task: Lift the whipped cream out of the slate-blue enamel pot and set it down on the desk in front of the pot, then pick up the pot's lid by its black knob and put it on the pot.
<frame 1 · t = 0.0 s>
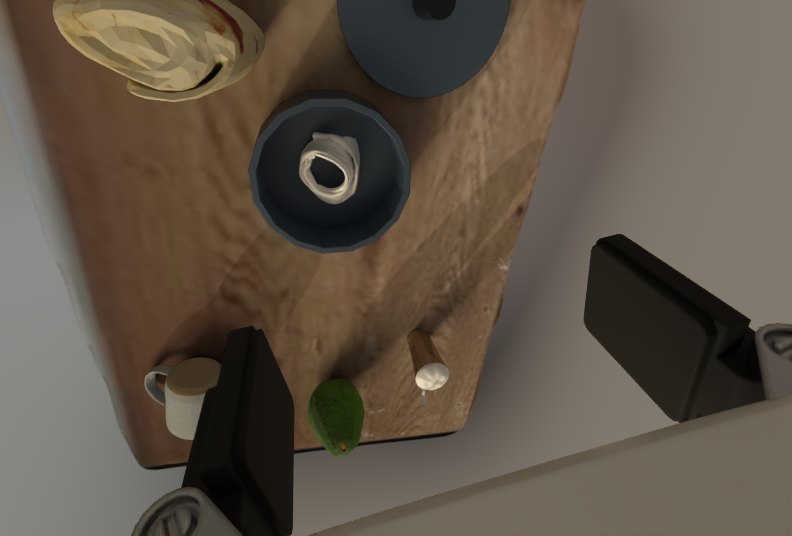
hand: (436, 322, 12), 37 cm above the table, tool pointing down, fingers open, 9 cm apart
ceramic mug: (192, 375, 57), on the table
milkshake: (416, 338, 62), on the table
pot: (329, 165, 46), on the table
food model: (212, 32, 38), on the table
pot lid: (425, 3, 39), point 1 cm above the table
whipped cream: (329, 166, 46), resting on pot
avocado: (333, 383, 63), on the table
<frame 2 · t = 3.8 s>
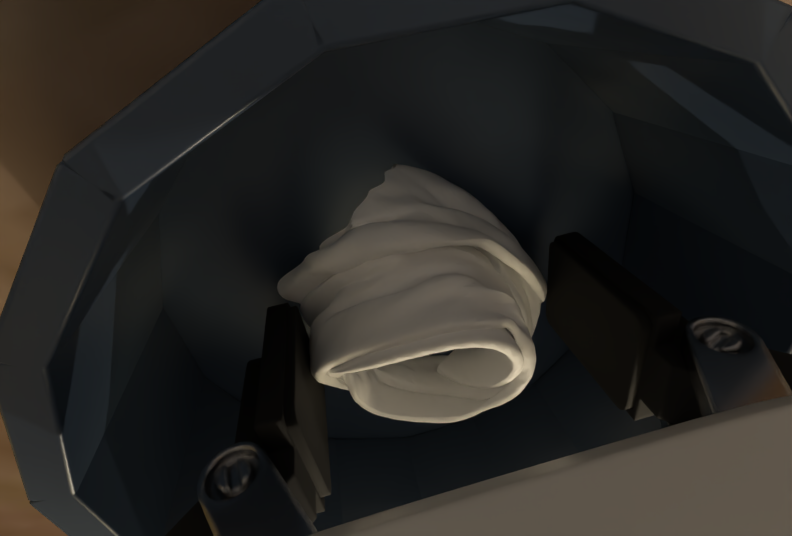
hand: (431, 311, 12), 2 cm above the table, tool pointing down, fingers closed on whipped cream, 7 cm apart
pot: (413, 278, 13), on the table
whipped cream: (414, 282, 13), resting on pot, touching gripper
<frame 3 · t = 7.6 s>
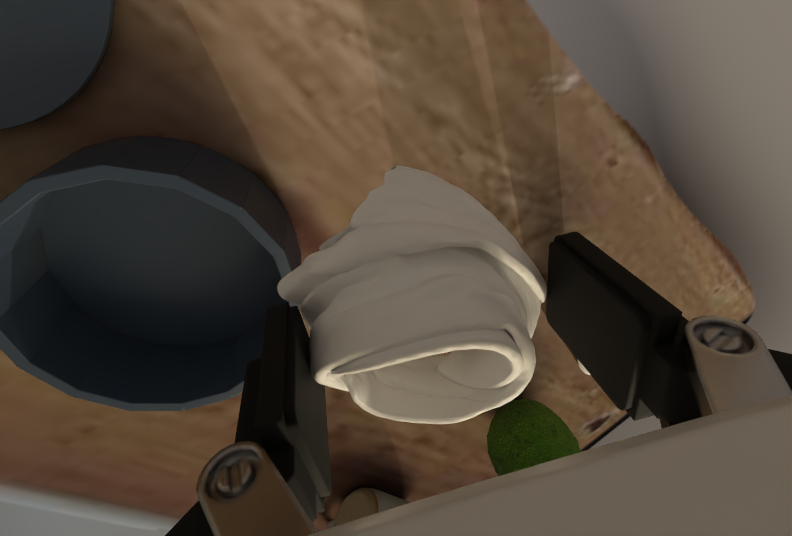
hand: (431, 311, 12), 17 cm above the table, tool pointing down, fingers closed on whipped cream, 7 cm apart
ceramic mug: (368, 504, 47), on the table
pot: (177, 257, 27), on the table
whipped cream: (414, 283, 13), point 16 cm above the table, touching gripper
avocado: (508, 406, 43), on the table
when the fingers open (1 cm above the table, at t = 11.7 s): whipped cream stays where it is, on the table.
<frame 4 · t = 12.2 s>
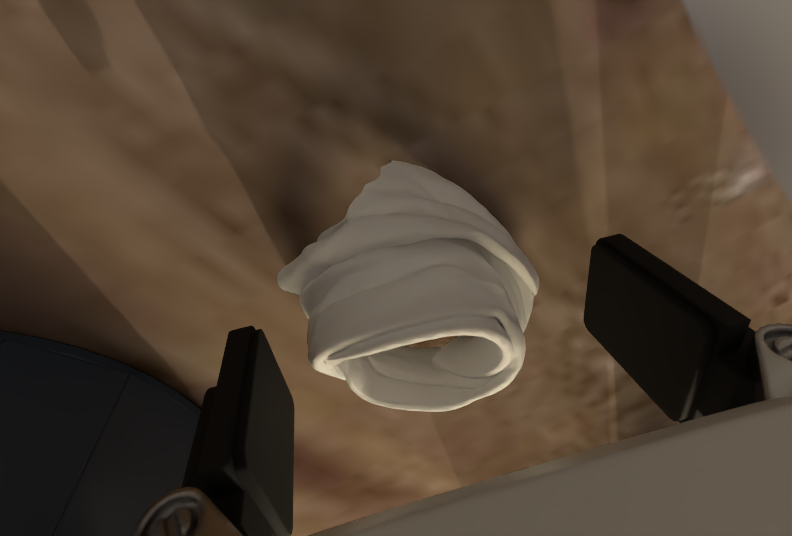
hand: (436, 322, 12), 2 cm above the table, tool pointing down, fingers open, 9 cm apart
pot: (6, 499, 15), on the table
whipped cream: (410, 276, 14), on the table
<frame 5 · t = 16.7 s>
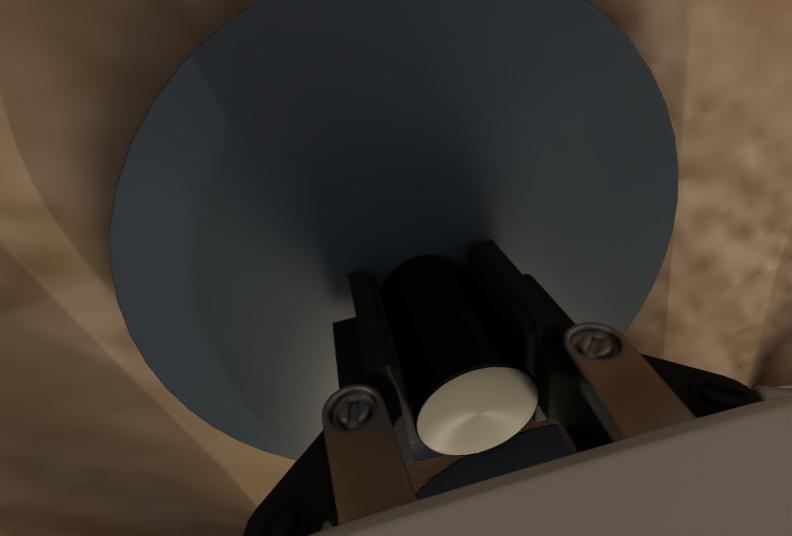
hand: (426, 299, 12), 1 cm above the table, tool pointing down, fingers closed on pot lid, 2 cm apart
pot: (524, 516, 24), on the table
pot lid: (420, 285, 13), point 1 cm above the table, touching gripper
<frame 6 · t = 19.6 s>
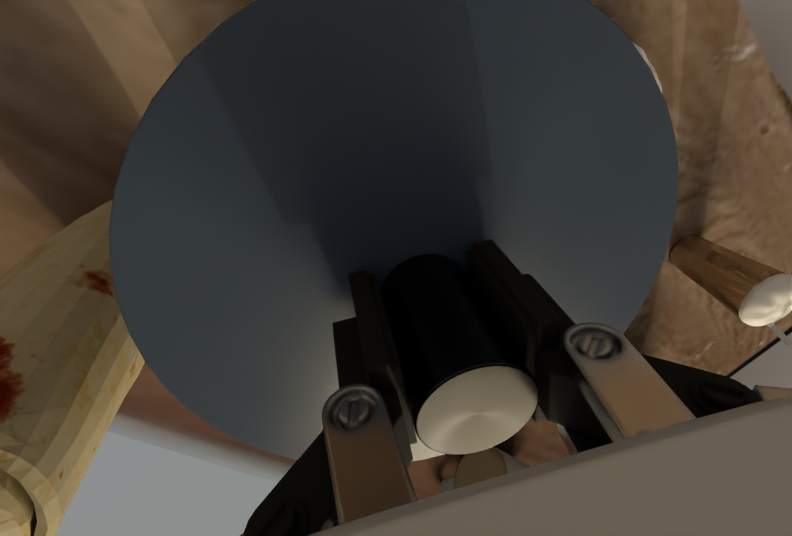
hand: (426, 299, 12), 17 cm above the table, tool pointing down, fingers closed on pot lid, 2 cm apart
ceramic mug: (477, 464, 49), on the table
milkshake: (683, 252, 38), on the table
food model: (139, 232, 27), on the table
pot lid: (419, 284, 13), point 17 cm above the table, touching gripper
when the fingers open (7 cm above the table, at t = 22.7 s): pot lid stays where it is, resting on pot.
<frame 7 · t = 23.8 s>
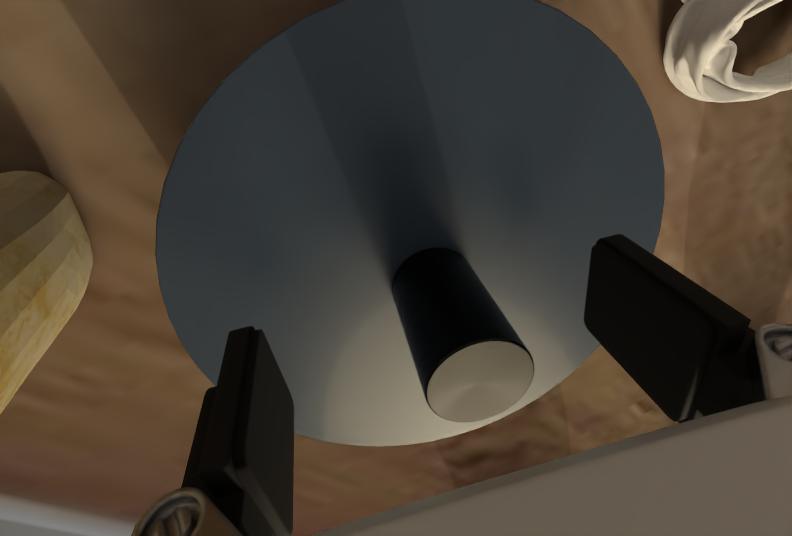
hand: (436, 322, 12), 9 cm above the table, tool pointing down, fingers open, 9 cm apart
food model: (15, 250, 17), on the table
pot lid: (428, 275, 14), point 6 cm above the table, touching pot
whipped cream: (727, 20, 18), on the table
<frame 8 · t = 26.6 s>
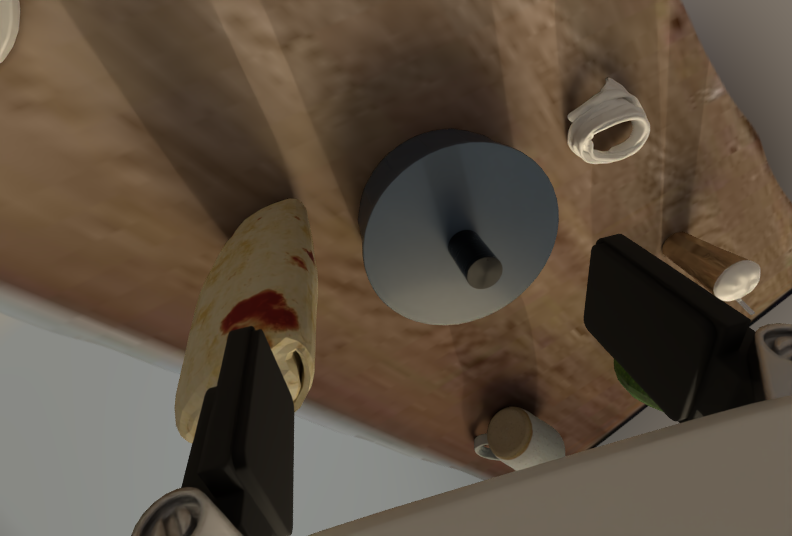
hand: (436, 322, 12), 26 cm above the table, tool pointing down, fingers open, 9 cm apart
ceramic mug: (505, 424, 59), on the table
milkshake: (673, 245, 48), on the table
pot: (441, 213, 40), on the table
food model: (268, 233, 37), on the table
pot lid: (461, 242, 35), point 6 cm above the table, touching pot
whipped cream: (597, 124, 38), on the table
avocado: (624, 343, 55), on the table
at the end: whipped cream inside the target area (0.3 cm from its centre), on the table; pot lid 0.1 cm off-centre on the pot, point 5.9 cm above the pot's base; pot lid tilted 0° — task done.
